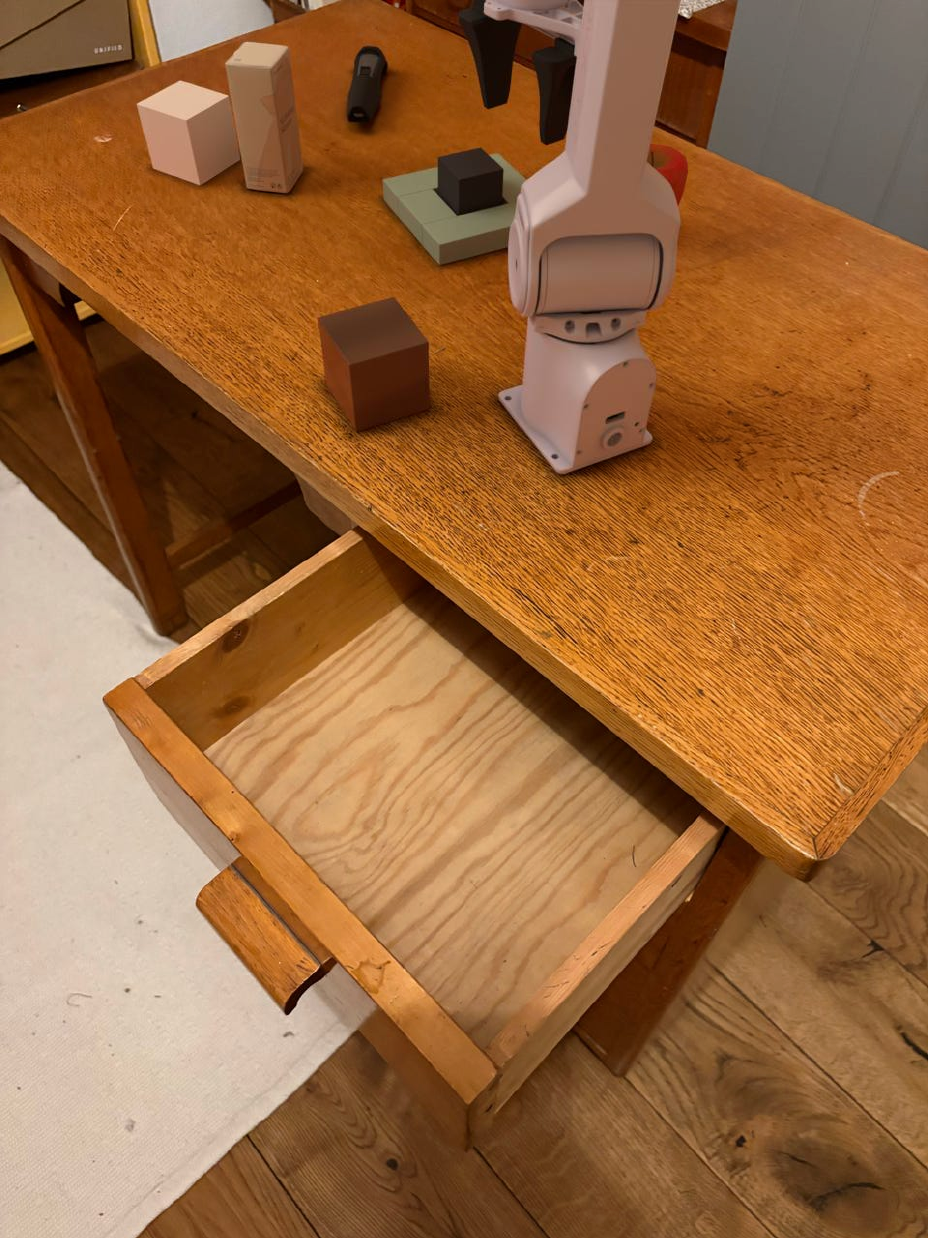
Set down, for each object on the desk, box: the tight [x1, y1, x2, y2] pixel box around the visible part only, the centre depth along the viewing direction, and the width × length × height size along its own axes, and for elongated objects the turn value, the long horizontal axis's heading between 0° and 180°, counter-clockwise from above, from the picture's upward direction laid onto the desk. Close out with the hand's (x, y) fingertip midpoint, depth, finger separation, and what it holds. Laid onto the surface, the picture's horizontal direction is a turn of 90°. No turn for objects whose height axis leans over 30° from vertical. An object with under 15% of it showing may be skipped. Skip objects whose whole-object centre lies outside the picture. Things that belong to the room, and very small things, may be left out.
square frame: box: [382, 152, 527, 266], centre depth 83 cm, size 12×12×2 cm
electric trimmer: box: [346, 45, 389, 124], centre depth 97 cm, size 4×16×3 cm, turn 178°
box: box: [225, 41, 304, 194], centre depth 83 cm, size 5×4×11 cm
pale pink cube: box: [136, 79, 241, 186], centre depth 87 cm, size 6×6×6 cm
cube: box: [317, 296, 431, 433], centre depth 66 cm, size 6×6×6 cm
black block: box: [437, 147, 504, 216], centre depth 82 cm, size 4×4×5 cm
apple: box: [647, 143, 689, 206], centre depth 80 cm, size 6×6×8 cm
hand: (523, 122), depth 76 cm, fingers open, 7 cm apart
